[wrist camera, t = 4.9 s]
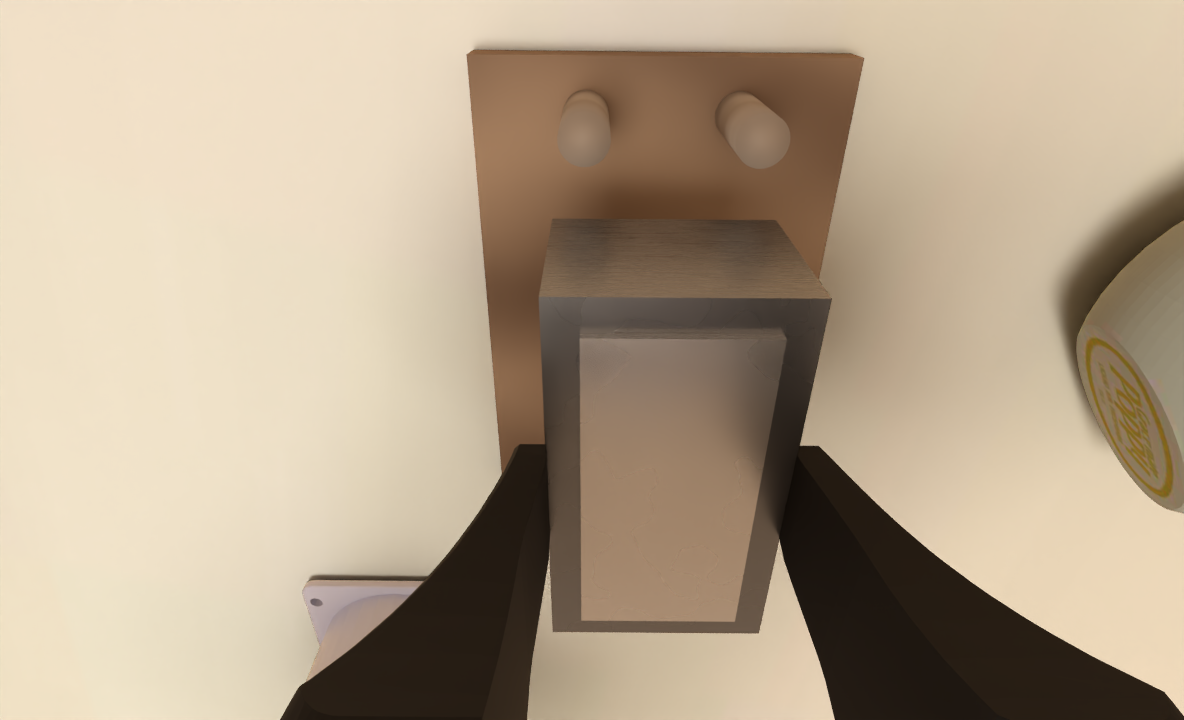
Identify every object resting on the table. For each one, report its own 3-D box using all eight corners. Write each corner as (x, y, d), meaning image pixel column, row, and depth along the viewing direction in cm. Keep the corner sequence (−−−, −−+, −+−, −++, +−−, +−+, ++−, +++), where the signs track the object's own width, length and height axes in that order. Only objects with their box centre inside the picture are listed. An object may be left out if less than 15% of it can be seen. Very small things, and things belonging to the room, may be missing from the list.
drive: (729, 514, 19) (760, 640, 16) (560, 512, 19) (552, 639, 16) (776, 219, 14) (835, 303, 11) (552, 218, 14) (537, 302, 11)
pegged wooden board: (766, 482, 25) (794, 564, 22) (507, 480, 25) (493, 561, 22) (850, 53, 17) (914, 75, 14) (473, 49, 17) (442, 70, 14)
